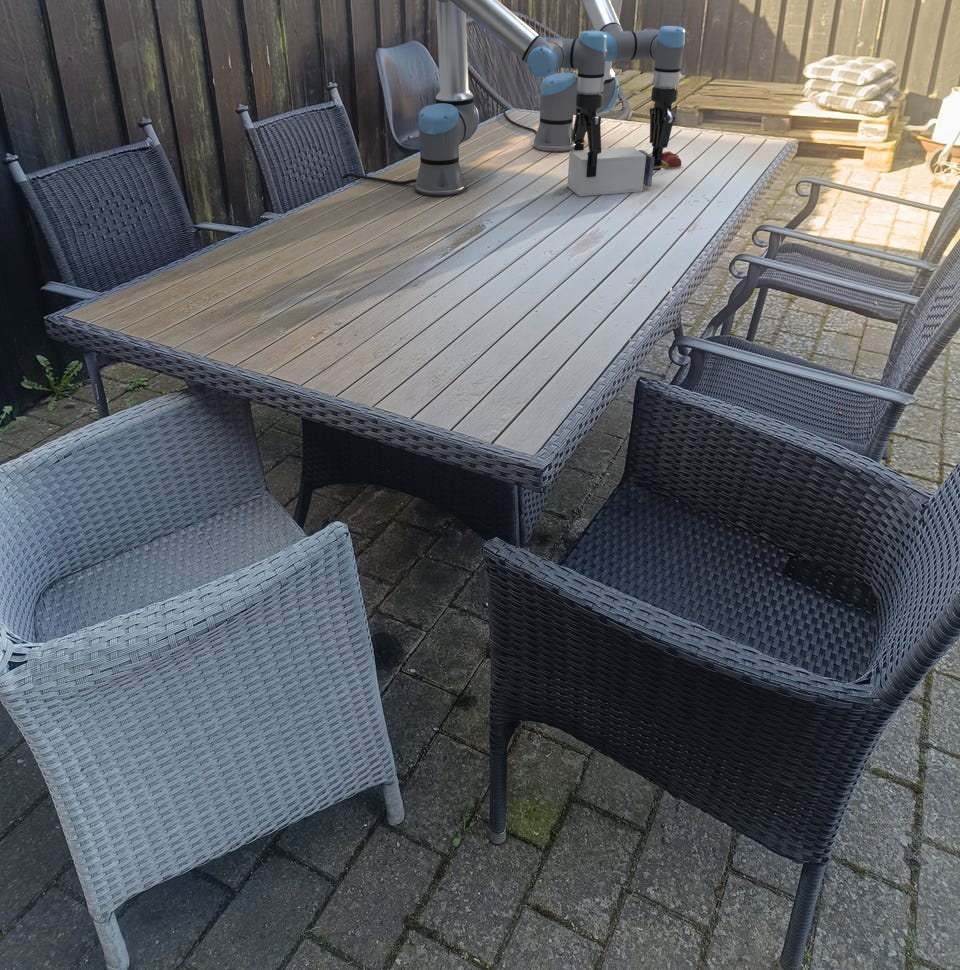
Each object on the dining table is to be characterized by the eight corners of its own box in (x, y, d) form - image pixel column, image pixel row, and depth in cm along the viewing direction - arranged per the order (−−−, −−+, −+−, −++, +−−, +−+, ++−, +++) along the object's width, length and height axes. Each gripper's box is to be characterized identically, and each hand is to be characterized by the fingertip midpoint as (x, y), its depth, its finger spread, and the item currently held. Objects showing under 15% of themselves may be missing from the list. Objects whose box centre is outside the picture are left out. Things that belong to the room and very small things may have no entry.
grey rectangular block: (628, 181, 265) (632, 146, 259) (642, 191, 257) (646, 155, 251) (567, 186, 261) (569, 150, 255) (579, 196, 253) (581, 159, 247)
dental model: (673, 148, 282) (683, 154, 275) (672, 161, 284) (682, 167, 278) (657, 149, 281) (667, 156, 274) (656, 162, 283) (666, 169, 277)
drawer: (656, 177, 266) (660, 148, 261) (669, 185, 259) (673, 156, 254) (581, 183, 261) (583, 153, 256) (591, 191, 254) (594, 161, 248)
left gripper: (617, 99, 233) (610, 181, 246) (587, 84, 251) (582, 160, 264) (592, 101, 231) (586, 183, 244) (563, 85, 250) (559, 162, 262)
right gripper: (687, 90, 242) (675, 174, 255) (667, 81, 252) (657, 163, 266) (663, 91, 240) (652, 176, 254) (644, 83, 250) (635, 165, 264)
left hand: (584, 171), depth 254 cm, fingers closed on grey rectangular block, 10 cm apart
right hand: (655, 169), depth 260 cm, fingers closed
